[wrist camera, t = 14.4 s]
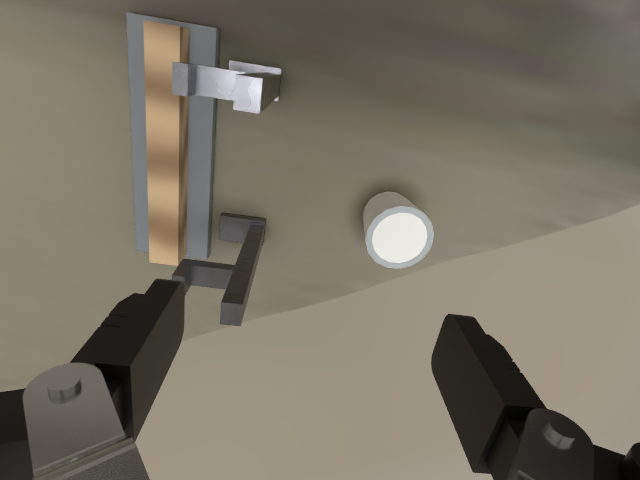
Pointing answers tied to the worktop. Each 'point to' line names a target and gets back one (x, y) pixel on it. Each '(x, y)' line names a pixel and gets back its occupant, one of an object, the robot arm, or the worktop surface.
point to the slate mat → (199, 136)
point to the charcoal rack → (251, 96)
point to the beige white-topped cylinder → (396, 230)
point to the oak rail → (166, 142)
